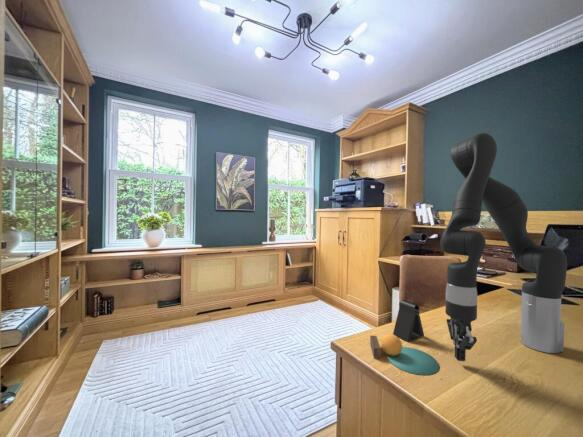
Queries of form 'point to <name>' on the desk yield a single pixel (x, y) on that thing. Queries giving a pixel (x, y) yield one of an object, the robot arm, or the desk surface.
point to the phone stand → (408, 322)
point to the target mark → (414, 361)
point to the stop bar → (375, 347)
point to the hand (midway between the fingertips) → (459, 359)
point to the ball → (391, 344)
